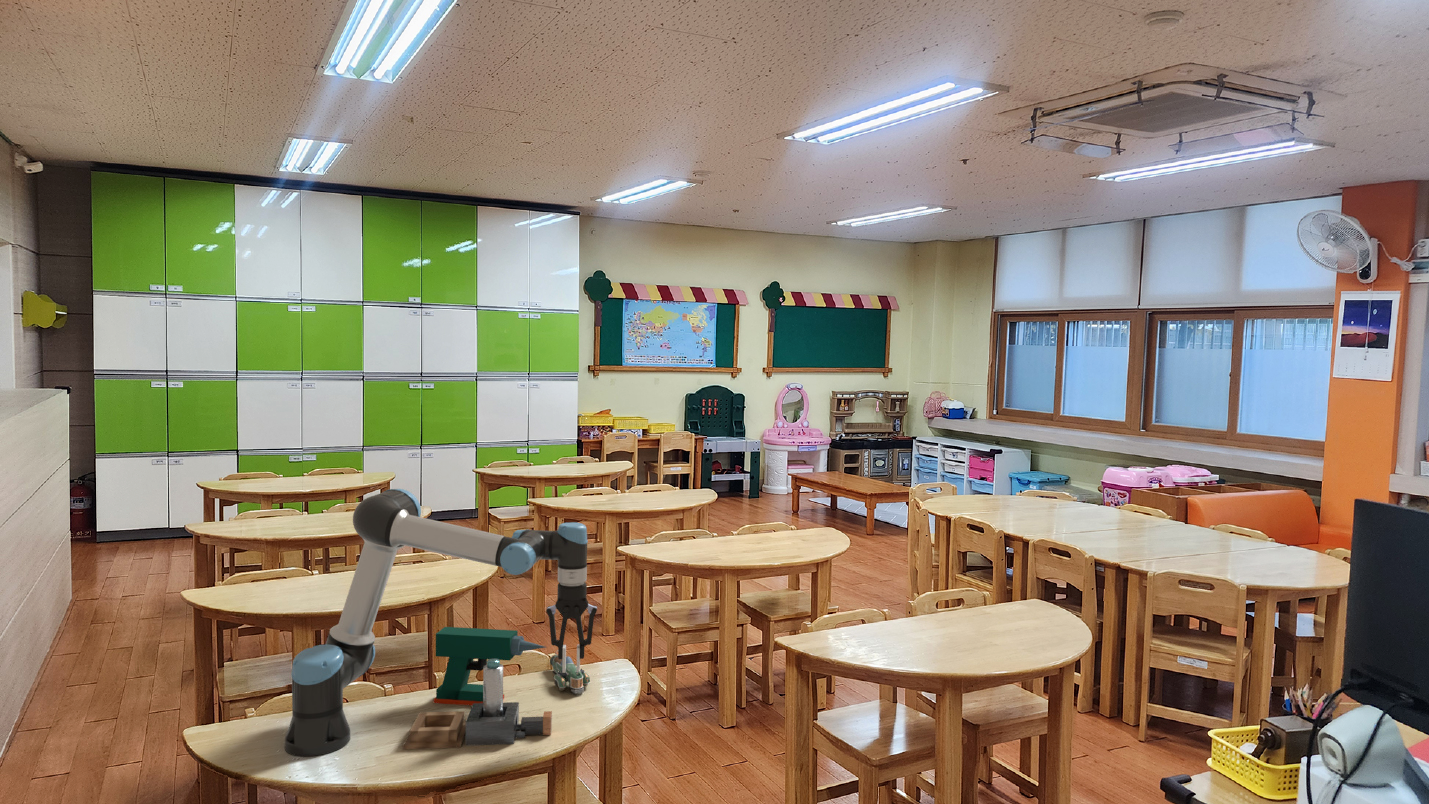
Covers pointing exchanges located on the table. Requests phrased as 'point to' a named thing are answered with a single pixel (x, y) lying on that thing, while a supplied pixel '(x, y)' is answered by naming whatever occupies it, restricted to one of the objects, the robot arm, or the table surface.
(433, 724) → the frame
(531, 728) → the block
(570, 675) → the hoverbike
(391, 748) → the table surface
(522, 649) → the power tool
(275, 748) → the table surface
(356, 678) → the robot arm
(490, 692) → the peg
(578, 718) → the table surface
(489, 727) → the socket block
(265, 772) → the table surface
